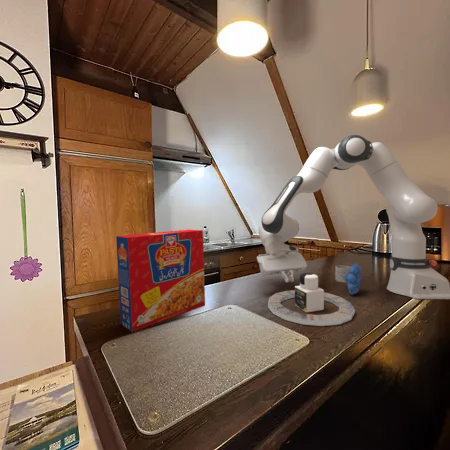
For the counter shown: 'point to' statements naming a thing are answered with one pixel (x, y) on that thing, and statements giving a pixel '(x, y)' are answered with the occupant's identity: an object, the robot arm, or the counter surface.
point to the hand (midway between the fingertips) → (290, 281)
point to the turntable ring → (335, 318)
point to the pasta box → (159, 276)
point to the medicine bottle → (309, 293)
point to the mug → (341, 272)
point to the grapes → (353, 279)
